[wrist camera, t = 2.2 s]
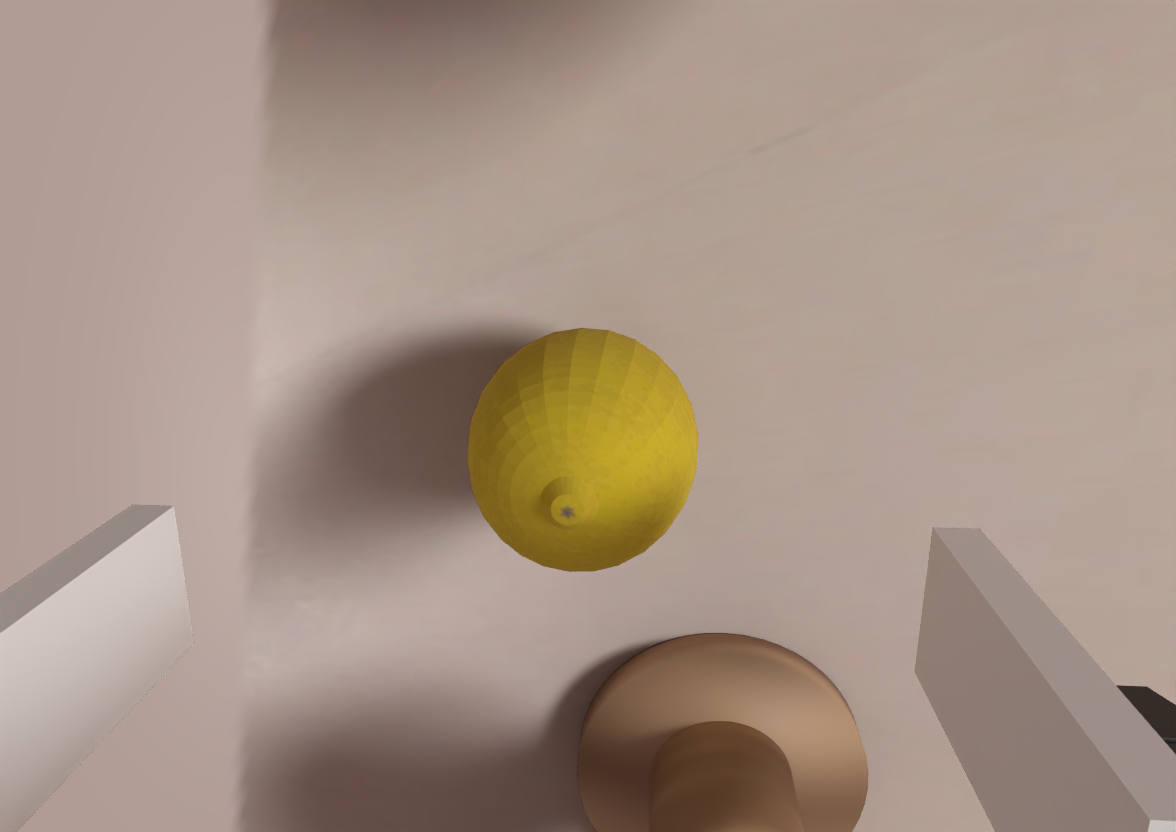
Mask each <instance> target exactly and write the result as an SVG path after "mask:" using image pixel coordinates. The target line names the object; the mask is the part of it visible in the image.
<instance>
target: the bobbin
mask: <svg viewBox="0 0 1176 832" xmlns="http://www.w3.org/2000/svg"><path fill="white" fill-rule="evenodd" d="M577 777H578V789H579V793H580V797H581V801H582V804H583V807H584V809H585V812H586V814H587V816H588V819H589V820H590V822H591V824H592V825H593V827H594V829H595V830H596V832H852V831H853V829H854V827H855V825H856V824H857V822H858V820H859V818H860V815H861V812H862V810H863V807H864V804H865V799H866V794H867V789H868V767H867V759H866V754H865V751H864V748H863V744H862V741H861V738H860V735H859V732H858V729H857V726H856V723H855V720H854V717H853V715H852V713H851V710H850V708H849V706H848V704H847V702H846V700H845V699H844V697H843V696H842V694H841V693H840V691H839V690H838V688H837V687H836V686H835V685H834V684H833V683H832V681H831V680H830V679H829V678H828V677H827V676H826V675H825V674H824V673H823V672H822V671H820V670H819V669H818V668H817V667H816V666H815V665H813V664H812V663H811V662H809V661H808V660H806V659H804V658H803V657H801V656H800V655H798V654H797V653H795V652H793V651H791V650H788V649H786V648H784V647H782V646H780V645H777V644H774V643H771V642H768V641H766V640H763V639H758V638H754V637H749V636H744V635H735V634H725V633H721V634H700V635H692V636H685V637H681V638H677V639H673V640H669V641H666V642H664V643H661V644H659V645H656V646H653V647H651V648H649V649H647V650H645V651H643V652H642V653H640V654H638V655H636V656H634V657H633V658H632V659H630V660H629V661H627V662H626V663H625V664H623V665H622V666H621V667H619V668H618V669H617V670H616V671H615V672H614V673H613V674H612V675H611V676H610V677H609V678H608V679H607V680H606V682H605V683H604V684H603V685H602V687H601V688H600V689H599V690H598V692H597V694H596V695H595V697H594V699H593V701H592V702H591V704H590V707H589V709H588V712H587V714H586V717H585V720H584V724H583V728H582V733H581V740H580V748H579V755H578V767H577Z"/></svg>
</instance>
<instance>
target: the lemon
mask: <svg viewBox="0 0 1176 832" xmlns="http://www.w3.org/2000/svg"><path fill="white" fill-rule="evenodd" d="M697 452H698V432H697V427H696V423H695V418H694V413H693V409H692V404H691V402H690V400H689V398H688V396H687V394H686V392H685V390H684V389H683V387H682V385H681V383H680V381H679V379H678V377H677V376H676V374H675V373H674V372H673V371H672V370H671V369H670V368H669V367H668V366H667V365H666V363H665V362H664V361H663V360H662V359H661V358H660V357H659V356H658V355H657V354H656V353H654V352H653V351H651V350H650V349H648V348H647V347H645V346H644V345H642V344H641V343H639V342H638V341H636V340H635V339H632V338H629V337H626V336H624V335H621V334H618V333H615V332H612V331H609V330H598V329H587V328H579V329H573V330H566V331H560V332H554V333H551V334H549V335H547V336H545V337H542V338H540V339H538V340H535V341H533V342H531V343H529V344H527V345H525V346H524V347H523V348H522V349H520V350H519V351H518V352H517V353H515V354H514V355H513V356H512V357H510V358H509V359H508V360H507V361H505V362H504V363H503V364H502V365H501V366H500V368H499V369H498V370H497V372H496V373H495V374H494V376H493V377H492V378H491V380H490V381H489V382H488V384H487V385H486V386H485V388H484V389H483V391H482V393H481V396H480V399H479V401H478V404H477V406H476V409H475V412H474V414H473V417H472V420H471V423H470V432H469V442H468V453H467V461H468V468H469V474H470V480H471V486H472V491H473V494H474V496H475V498H476V501H477V503H478V505H479V507H480V510H481V512H482V514H483V516H484V518H485V519H486V521H487V522H488V523H489V524H490V526H491V527H492V528H493V530H494V531H495V532H496V533H497V535H498V536H499V537H500V538H501V540H502V541H504V542H505V543H506V544H508V545H509V546H510V547H511V548H513V549H514V550H515V551H516V552H518V553H519V554H520V555H522V556H524V557H526V558H528V559H530V560H532V561H534V562H536V563H538V564H540V565H543V566H546V567H550V568H555V569H559V570H564V571H597V570H601V569H605V568H609V567H614V566H618V565H620V564H622V563H624V562H626V561H627V560H629V559H631V558H633V557H635V556H637V555H639V554H641V553H643V552H644V551H646V550H647V549H648V548H649V547H650V546H651V545H652V544H654V543H655V542H656V541H657V540H658V539H659V538H660V537H661V536H663V535H664V534H665V532H666V531H667V530H668V529H669V527H670V526H671V524H672V523H673V521H674V520H675V518H676V517H677V515H678V514H679V512H680V511H681V509H682V508H683V506H684V505H685V502H686V500H687V497H688V494H689V491H690V488H691V485H692V482H693V479H694V476H695V473H696V469H697Z"/></svg>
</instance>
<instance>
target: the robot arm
mask: <svg viewBox="0 0 1176 832" xmlns="http://www.w3.org/2000/svg"><path fill="white" fill-rule="evenodd" d="M194 643H195V642H194V636H193V630H192V623H191V617H190V609H189V603H188V596H187V590H186V583H185V576H184V570H183V563H182V556H181V550H180V543H179V536H178V530H177V523H176V517H175V511H174V506H157V505H131V506H130V507H128V508H127V509H125V510H124V511H122V512H121V513H119V514H118V515H116V516H115V517H113V518H112V519H110V520H109V521H108V522H106V523H105V524H103V525H102V526H100V527H99V528H97V529H96V530H94V531H93V532H91V533H90V534H88V535H87V536H85V537H84V538H82V539H81V540H79V541H78V542H76V543H75V544H73V545H72V546H70V547H69V548H68V549H66V550H64V551H63V552H62V553H60V554H59V555H57V556H56V557H54V558H53V559H51V560H50V561H48V562H47V563H45V564H44V565H42V566H41V567H39V568H38V569H36V570H35V571H33V572H32V573H30V574H29V575H27V576H26V577H24V578H23V579H21V580H20V581H18V582H17V583H15V584H14V585H13V586H11V587H10V588H8V589H7V590H5V591H4V592H2V593H1V594H0V832H17V831H18V830H19V829H20V828H21V827H22V826H23V825H24V824H25V823H26V822H27V821H28V820H29V818H31V817H32V815H33V814H34V813H35V812H36V811H37V810H38V809H39V808H40V807H41V806H42V805H43V804H44V803H45V802H46V801H47V799H48V798H49V797H50V796H51V795H52V794H53V793H54V792H55V791H56V790H57V789H58V788H59V787H60V786H61V785H62V784H63V782H64V781H65V780H66V779H67V778H68V777H69V776H70V775H71V774H72V773H73V772H74V771H75V770H76V769H77V767H78V766H79V765H80V764H81V763H82V762H83V761H84V760H85V759H86V758H87V757H88V756H89V755H90V754H91V753H92V752H93V750H94V749H95V748H96V747H97V746H98V745H99V744H100V743H101V742H102V741H103V740H104V739H105V738H106V737H107V736H108V735H109V733H110V732H111V731H112V730H113V729H114V728H115V727H116V726H117V725H118V724H119V723H120V722H121V720H123V719H124V717H125V716H126V715H127V714H128V713H129V712H130V711H131V710H132V709H133V708H134V707H135V706H136V705H137V704H138V702H139V701H140V700H141V699H142V698H143V697H144V696H145V695H146V694H147V693H148V692H149V691H150V690H151V689H152V688H153V686H155V684H156V683H157V682H158V681H159V680H160V679H161V678H162V677H163V676H164V675H165V673H167V672H168V671H169V670H170V668H171V667H172V666H173V665H174V664H175V663H176V662H177V661H178V660H179V659H180V658H181V657H182V656H183V655H184V654H185V652H186V651H187V650H188V649H189V648H190V647H191V646H192V645H193V644H194ZM915 673H916V675H917V677H918V679H919V681H920V683H921V685H922V687H923V689H924V691H925V693H926V695H927V697H928V699H929V701H930V703H931V705H932V707H933V709H934V711H935V713H936V715H937V717H938V719H939V721H940V723H941V725H942V727H943V729H944V731H945V733H946V735H947V737H948V739H949V741H950V743H951V745H952V747H953V749H954V751H955V753H956V755H957V757H958V759H959V761H960V763H961V765H962V767H963V769H964V771H965V773H966V775H967V777H968V779H969V780H970V782H971V784H972V786H973V788H974V790H975V792H976V794H977V796H978V798H979V800H980V802H981V804H982V806H983V808H984V810H985V812H986V814H987V816H988V818H989V820H990V822H991V824H992V826H993V828H994V830H995V832H1176V705H1175V704H1173V703H1172V702H1170V701H1168V700H1167V699H1165V698H1164V697H1162V696H1161V695H1159V694H1157V693H1156V692H1154V691H1153V690H1151V689H1149V688H1148V687H1141V686H1116V685H1115V684H1114V683H1113V682H1112V680H1111V679H1110V678H1109V677H1108V676H1107V675H1106V674H1105V672H1104V671H1103V670H1102V669H1101V668H1100V667H1099V665H1098V664H1097V663H1096V662H1095V661H1094V660H1093V659H1092V657H1091V656H1090V655H1089V654H1088V653H1087V652H1086V650H1085V649H1084V648H1083V647H1082V646H1081V645H1080V644H1079V642H1078V641H1077V640H1076V639H1075V638H1074V637H1073V636H1072V634H1071V633H1070V632H1069V631H1068V630H1067V629H1066V627H1065V626H1064V625H1063V624H1062V623H1061V622H1060V621H1059V619H1058V618H1057V617H1056V616H1055V615H1054V614H1053V612H1052V611H1051V610H1050V609H1049V608H1048V607H1047V606H1046V604H1045V603H1044V602H1043V601H1042V600H1041V599H1040V597H1039V596H1038V595H1037V594H1036V593H1035V592H1034V591H1033V589H1032V588H1031V587H1030V586H1029V585H1028V584H1027V582H1026V581H1025V580H1024V579H1023V578H1022V577H1021V576H1020V574H1019V573H1018V572H1017V571H1016V570H1015V569H1014V568H1013V566H1012V565H1011V564H1010V563H1009V562H1008V561H1007V559H1006V558H1005V557H1004V556H1003V555H1002V554H1001V553H1000V551H999V550H998V549H997V548H996V547H995V546H994V544H993V543H992V542H991V541H990V540H989V539H988V538H987V536H986V535H985V534H984V533H983V532H982V531H981V529H971V528H935V527H933V528H932V536H931V544H930V552H929V561H928V569H927V577H926V585H925V593H924V601H923V609H922V617H921V625H920V633H919V641H918V649H917V657H916V665H915Z"/></svg>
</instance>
